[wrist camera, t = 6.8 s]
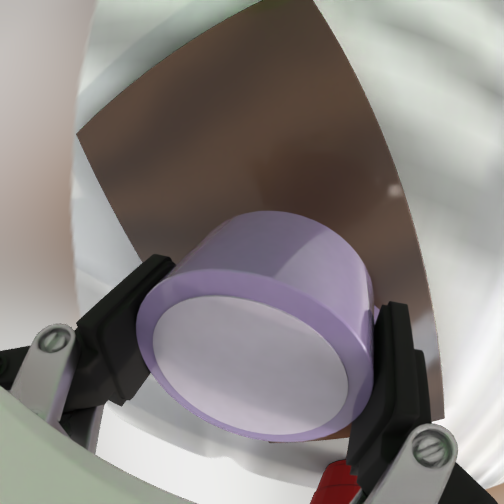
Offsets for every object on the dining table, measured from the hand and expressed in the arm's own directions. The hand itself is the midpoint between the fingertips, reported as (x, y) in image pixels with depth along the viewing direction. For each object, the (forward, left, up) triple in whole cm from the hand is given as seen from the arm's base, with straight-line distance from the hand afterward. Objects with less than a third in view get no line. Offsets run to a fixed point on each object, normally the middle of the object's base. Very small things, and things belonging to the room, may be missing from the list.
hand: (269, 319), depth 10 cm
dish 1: (0, 0, -1) cm, 1 cm away
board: (+4, -3, -8) cm, 9 cm away
